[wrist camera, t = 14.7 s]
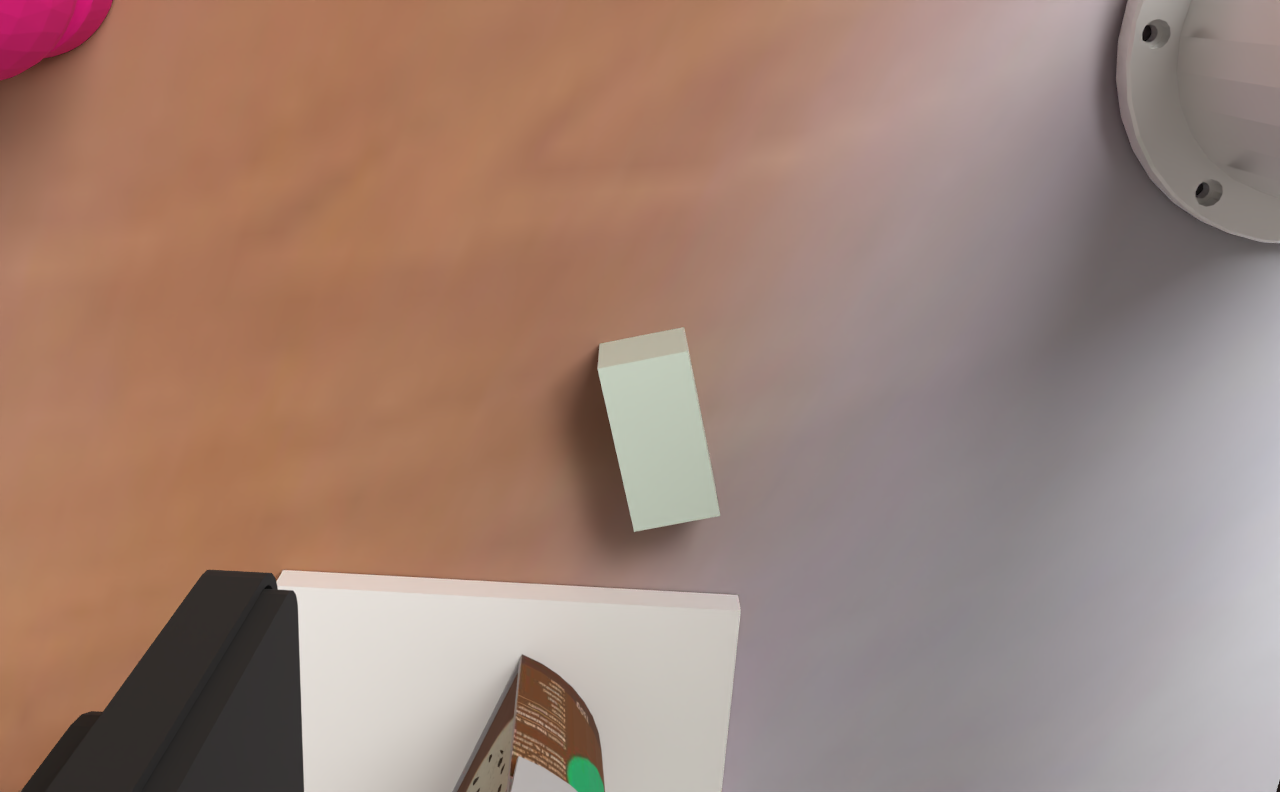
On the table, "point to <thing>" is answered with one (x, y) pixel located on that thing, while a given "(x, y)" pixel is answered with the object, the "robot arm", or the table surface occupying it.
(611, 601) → the platter
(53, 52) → the pepper mill
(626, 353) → the sage block
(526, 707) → the food container
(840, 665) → the table surface
